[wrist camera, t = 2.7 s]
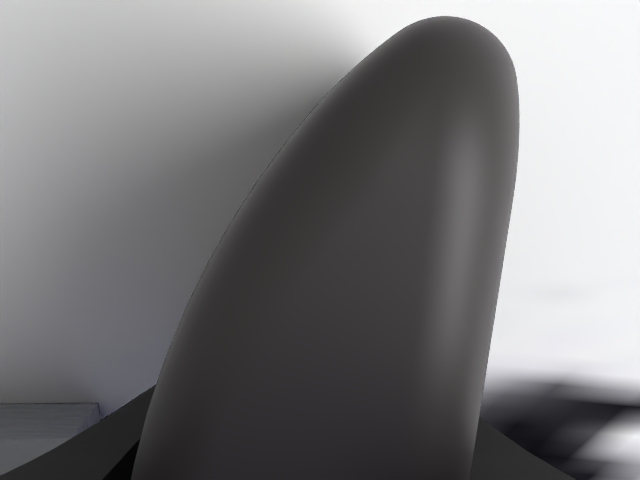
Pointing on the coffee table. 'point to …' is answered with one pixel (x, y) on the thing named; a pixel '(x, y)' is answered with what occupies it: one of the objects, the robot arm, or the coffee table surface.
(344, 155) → the leaning round-cornered charcoal block
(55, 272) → the coffee table surface
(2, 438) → the rail plate
